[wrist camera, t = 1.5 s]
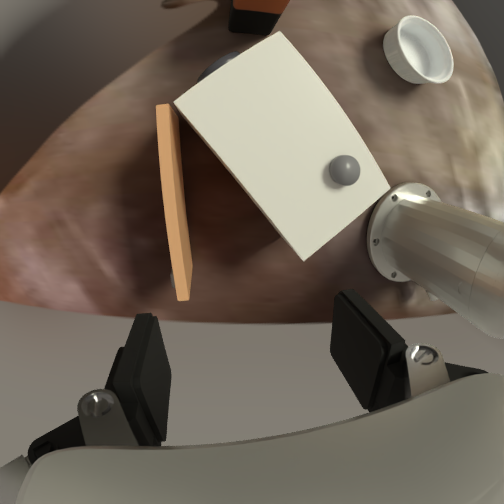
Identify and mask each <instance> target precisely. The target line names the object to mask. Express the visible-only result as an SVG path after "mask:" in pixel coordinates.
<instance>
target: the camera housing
mask: <svg viewBox="0 0 504 504" xmlns="http://www.w3.org/2000/svg"><path fill="white" fill-rule="evenodd" d="M197 82H198V83H197V84H196V85H195V86H193V87H192V88H191V89H189V90H188V91H187V92H185V93H184V94H183V95H182V96H180V97H179V98H178V99H176V100H175V101H174V104H175V106H176V107H177V109H178V111H179V112H180V114H181V115H182V117H183V118H184V119H185V120H186V121H187V123H188V124H189V125H190V126H191V127H192V128H193V130H194V131H195V132H196V133H197V134H198V135H199V137H200V138H201V139H202V140H203V141H204V143H205V144H206V145H207V146H208V147H209V148H210V150H211V151H212V152H213V153H214V154H215V156H216V157H217V158H218V159H219V160H220V162H221V163H222V164H223V165H224V166H225V168H226V169H227V170H228V171H229V172H230V174H231V175H232V176H233V177H234V179H235V180H236V181H237V182H238V183H239V185H240V186H241V187H242V188H243V190H244V191H245V192H246V193H247V194H248V196H249V197H250V198H251V199H252V201H253V202H254V203H255V204H256V206H257V207H258V208H259V209H260V211H261V212H262V213H263V214H264V216H265V217H266V218H267V219H268V221H269V222H270V223H271V224H272V226H273V227H274V228H275V229H276V231H277V232H278V233H279V234H280V236H281V237H282V238H283V239H284V240H285V241H286V242H287V244H288V245H289V246H290V247H291V248H292V249H293V250H294V251H295V252H296V254H297V255H298V256H299V257H300V258H301V259H302V260H303V261H304V260H306V259H307V258H308V257H309V256H311V255H312V254H313V253H314V252H316V251H317V250H318V249H319V248H320V247H322V246H323V245H324V244H325V243H327V242H328V241H329V240H330V239H331V238H333V237H334V236H335V235H336V234H337V233H339V232H340V231H341V230H342V229H343V228H345V227H346V226H347V225H348V224H349V223H351V222H352V221H353V220H354V219H355V218H357V217H358V216H359V215H360V214H361V213H362V212H364V211H365V210H366V209H367V208H368V207H370V206H371V205H372V204H373V203H374V202H375V201H377V200H378V199H379V198H380V197H381V196H382V195H383V194H385V193H386V192H387V191H388V190H389V189H390V186H389V184H388V183H387V181H386V179H385V177H384V175H383V174H382V172H381V170H380V168H379V167H378V165H377V163H376V161H375V160H374V158H373V156H372V155H371V153H370V151H369V150H368V148H367V146H366V145H365V143H364V142H363V140H362V138H361V137H360V135H359V134H358V132H357V131H356V129H355V128H354V126H353V124H352V123H351V121H350V120H349V118H348V117H347V116H346V114H345V113H344V111H343V110H342V108H341V107H340V105H339V104H338V103H337V101H336V100H335V98H334V97H333V96H332V94H331V93H330V92H329V90H328V89H327V88H326V86H325V85H324V84H323V82H322V81H321V80H320V78H319V77H318V76H317V74H316V73H315V72H314V71H313V69H312V68H311V67H310V66H309V64H308V63H307V62H306V61H305V60H304V58H303V57H302V56H301V55H300V54H299V52H298V51H297V50H296V49H295V48H294V47H293V45H292V44H291V43H290V42H289V41H288V40H287V39H286V37H285V36H284V35H283V34H282V33H281V32H280V31H279V32H277V33H275V34H274V35H272V36H270V37H268V38H266V39H265V40H263V41H261V42H260V43H258V44H256V45H254V46H253V47H251V48H249V49H248V50H246V51H245V52H243V53H241V54H239V52H237V51H235V52H231V53H229V54H227V55H225V56H223V57H222V58H220V59H218V60H217V61H216V62H214V63H213V64H212V65H210V66H209V67H208V68H207V69H206V70H205V71H204V72H203V73H202V74H201V75H200V77H199V78H198V80H197Z"/></svg>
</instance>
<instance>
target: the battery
mask: <svg viewBox="0 0 504 504" xmlns="http://www.w3.org/2000/svg"><path fill="white" fill-rule="evenodd" d="M289 1H290V0H231V8H230V17H229V30H230V31H231V32H241V33H251V34H260V35H269V34H270V33H271V31H272V30H273V28H274V26H275V25H276V23H277V21H278V19H279V18H280V16H281V14H282V13H283V11H284V9H285V8H286V6H287V4H288V3H289Z"/></svg>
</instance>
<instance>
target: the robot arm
mask: <svg viewBox="0 0 504 504" xmlns="http://www.w3.org/2000/svg"><path fill="white" fill-rule="evenodd" d="M367 249H368V254H369V257H370V260H371V262H372V264H373V266H374V267H375V268H376V270H377V271H378V272H379V273H380V274H382V275H383V276H384V277H386V278H387V279H389V280H392V281H395V282H405V281H410V280H413V281H414V282H415V283H417V284H418V285H420V286H421V287H423V288H424V289H425V290H426V292H427V295H428V297H429V299H430V300H431V301H435V300H438V299H440V300H441V301H442V302H444V303H445V304H446V305H448V306H449V307H451V308H452V309H453V310H455V311H456V312H457V313H459V314H460V315H461V316H463V317H464V318H465V319H467V320H468V321H469V322H471V323H472V324H473V325H475V326H476V327H477V328H479V329H480V330H481V331H483V332H484V333H486V334H487V335H489V336H492V337H495V338H504V222H501V221H498V220H495V219H492V218H489V217H486V216H483V215H480V214H477V213H474V212H471V211H468V210H465V209H462V208H458V207H455V206H452V205H448V204H445V203H442V202H441V200H440V198H439V197H438V195H437V194H436V193H435V192H434V191H433V190H432V189H431V188H429V187H428V186H426V185H424V184H420V183H416V182H406V183H401V184H399V185H397V186H395V187H393V188H391V189H390V190H389V191H388V192H386V193H385V194H384V196H383V197H382V198H381V199H380V200H379V202H378V203H377V205H376V207H375V208H374V210H373V213H372V215H371V218H370V221H369V225H368V230H367ZM330 353H331V356H332V357H333V359H334V361H335V362H336V364H337V366H338V367H339V369H340V371H341V372H342V374H343V376H344V377H345V379H346V381H347V382H348V384H349V386H350V387H351V389H352V390H353V392H354V394H355V395H356V397H357V399H358V400H359V402H360V404H361V405H362V407H363V409H368V411H369V412H370V413H366V414H363V415H360V416H357V417H353V418H350V419H346V420H343V421H339V422H335V423H332V424H328V425H324V426H320V427H316V428H312V429H307V430H302V431H298V432H292V433H287V434H282V435H277V436H271V437H265V438H258V439H251V440H244V441H236V442H227V443H216V444H204V445H186V446H161V441H166V434H167V419H168V407H169V396H170V386H171V369H170V365H169V362H168V358H167V355H166V350H165V347H164V343H163V339H162V335H161V331H160V327H159V322H158V318H157V317H156V316H152V314H151V313H143V314H137V315H136V317H135V320H134V323H133V325H132V328H131V331H130V333H129V336H128V339H127V341H126V344H125V347H120V348H119V350H118V352H117V354H116V357H115V360H114V363H113V366H112V368H111V371H110V374H109V377H108V380H107V382H106V385H105V388H104V389H97V390H93V391H90V392H88V393H86V394H85V395H84V396H82V398H81V399H80V400H79V402H78V405H77V411H78V415H79V416H77V417H75V418H74V419H72V420H70V421H68V422H66V423H65V424H63V425H61V426H59V427H58V428H56V429H54V430H52V431H50V432H48V433H46V434H45V435H43V436H41V437H39V438H38V439H36V440H35V441H33V442H32V444H31V445H30V447H29V449H28V456H26V457H24V456H23V455H21V456H19V457H17V458H16V459H14V460H12V461H11V462H9V463H7V464H6V465H4V466H2V467H0V504H504V375H501V374H495V373H488V372H486V371H484V370H481V369H476V368H470V367H465V366H460V365H455V364H450V363H445V362H444V359H443V356H442V354H441V352H440V351H439V350H438V349H437V348H436V347H434V346H432V345H429V344H424V343H417V344H413V345H411V346H410V347H408V346H407V345H406V344H405V340H404V339H403V338H402V337H401V336H400V335H399V334H398V333H397V332H396V331H395V330H394V329H393V328H392V327H391V326H390V325H389V324H388V323H387V322H386V321H385V320H384V319H383V318H382V317H381V316H380V315H379V314H378V313H377V312H376V311H375V310H374V309H373V308H372V307H371V306H370V305H369V304H368V303H367V302H366V301H365V300H364V299H363V298H362V297H361V296H360V295H359V294H358V293H357V292H356V291H355V290H353V289H350V290H343V291H340V292H339V293H338V295H336V296H335V299H334V311H333V323H332V334H331V344H330Z"/></svg>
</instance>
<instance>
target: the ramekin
mask: <svg viewBox="0 0 504 504" xmlns="http://www.w3.org/2000/svg"><path fill="white" fill-rule="evenodd" d="M383 49H384V53H385V56H386V58H387V60H388V62H389V64H390V66H391V67H392V69H393V70H394V71H395V72H396V73H397V74H398V75H399V76H400V77H401V78H403V79H404V80H406V81H408V82H411V83H415V84H423V83H444V82H446V81H447V80H448V79H449V78H450V77H451V75H452V72H453V57H452V53H451V50H450V48H449V45H448V43H447V41H446V40H445V38H444V37H443V35H442V34H441V33H440V31H439V30H438V29H437V28H436V27H435V26H434V25H432V24H431V23H430V22H428V21H427V20H425V19H423V18H421V17H418V16H413V15H412V16H406V17H404V18H402V19H401V20H400V21H399V22H398V24H396V25H395V26H394V27H392V28H391V29H390V30H389V31H388V32H387V33H386V34H385V36H384V40H383Z"/></svg>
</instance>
